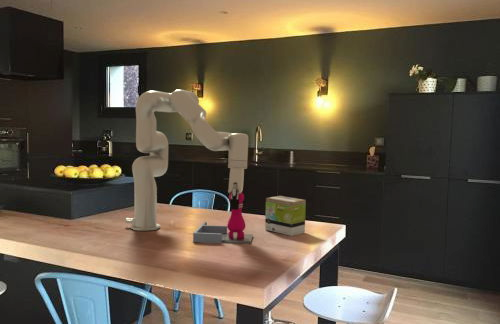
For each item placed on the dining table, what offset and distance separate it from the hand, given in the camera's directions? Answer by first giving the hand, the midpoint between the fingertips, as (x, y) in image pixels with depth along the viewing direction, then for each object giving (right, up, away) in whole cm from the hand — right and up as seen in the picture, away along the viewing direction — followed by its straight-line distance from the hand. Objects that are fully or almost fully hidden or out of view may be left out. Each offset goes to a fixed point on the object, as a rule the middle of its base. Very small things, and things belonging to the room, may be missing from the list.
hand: (235, 207), depth 179 cm
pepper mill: (0, -12, +1) cm, 12 cm away
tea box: (+21, -13, +17) cm, 30 cm away
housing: (-10, -12, +5) cm, 17 cm away
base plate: (0, -13, +1) cm, 13 cm away
